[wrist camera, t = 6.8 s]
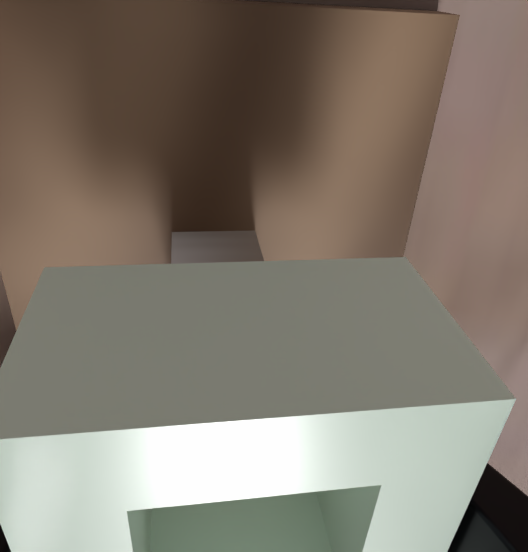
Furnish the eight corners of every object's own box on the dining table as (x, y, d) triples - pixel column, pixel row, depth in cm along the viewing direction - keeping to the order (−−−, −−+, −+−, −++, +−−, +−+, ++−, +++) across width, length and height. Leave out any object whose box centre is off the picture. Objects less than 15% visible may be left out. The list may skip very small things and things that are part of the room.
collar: (405, 256, 9) (516, 399, 6) (354, 474, 13) (409, 634, 10) (44, 267, 8) (-33, 441, 5) (93, 500, 12) (64, 687, 9)
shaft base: (438, 11, 13) (567, 35, 9) (356, 392, 20) (405, 507, 16) (-54, -16, 11) (-197, -3, 7) (52, 414, 19) (14, 551, 14)
